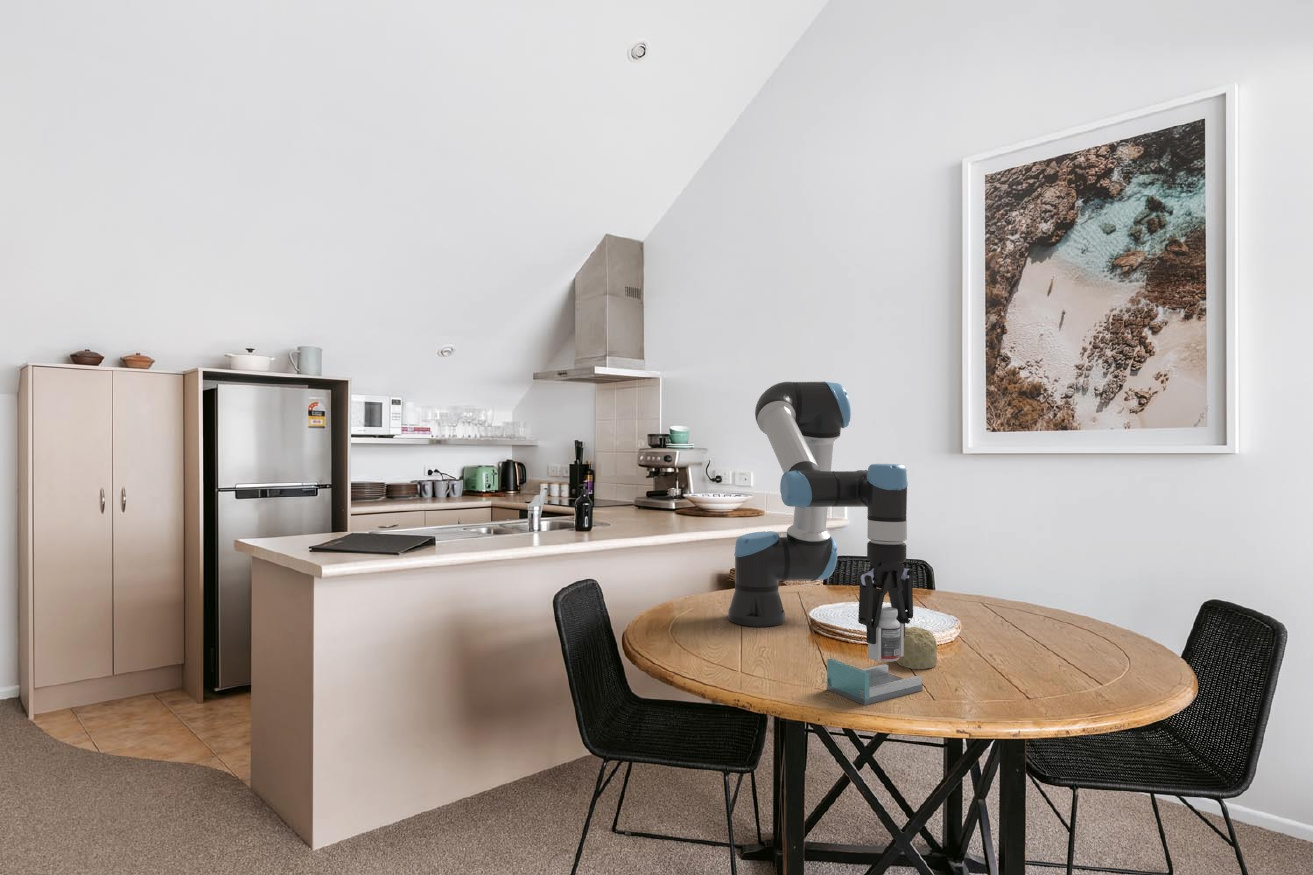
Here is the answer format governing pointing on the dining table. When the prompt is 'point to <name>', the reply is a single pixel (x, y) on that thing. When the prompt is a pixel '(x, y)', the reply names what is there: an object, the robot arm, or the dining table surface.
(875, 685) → the grey tray holder
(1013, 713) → the dining table surface
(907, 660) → the decorative object
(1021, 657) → the dining table surface
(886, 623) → the pill bottle
